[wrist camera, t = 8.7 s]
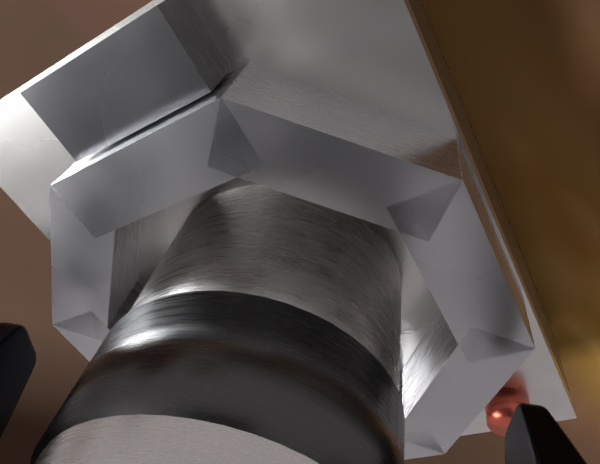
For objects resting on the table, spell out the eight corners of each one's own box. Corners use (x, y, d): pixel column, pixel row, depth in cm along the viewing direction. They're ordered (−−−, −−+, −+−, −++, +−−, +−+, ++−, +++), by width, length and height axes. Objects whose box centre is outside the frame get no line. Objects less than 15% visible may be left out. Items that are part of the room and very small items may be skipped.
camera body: (277, 386, 18) (244, 516, 15) (35, 80, 13) (-109, 167, 10) (550, 325, 15) (594, 479, 11) (367, -134, 9) (337, -123, 6)
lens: (389, 380, 13) (370, 826, 7) (181, 348, 13) (2, 731, 8) (425, 195, 10) (444, 710, 4) (154, 165, 10) (-183, 568, 4)
